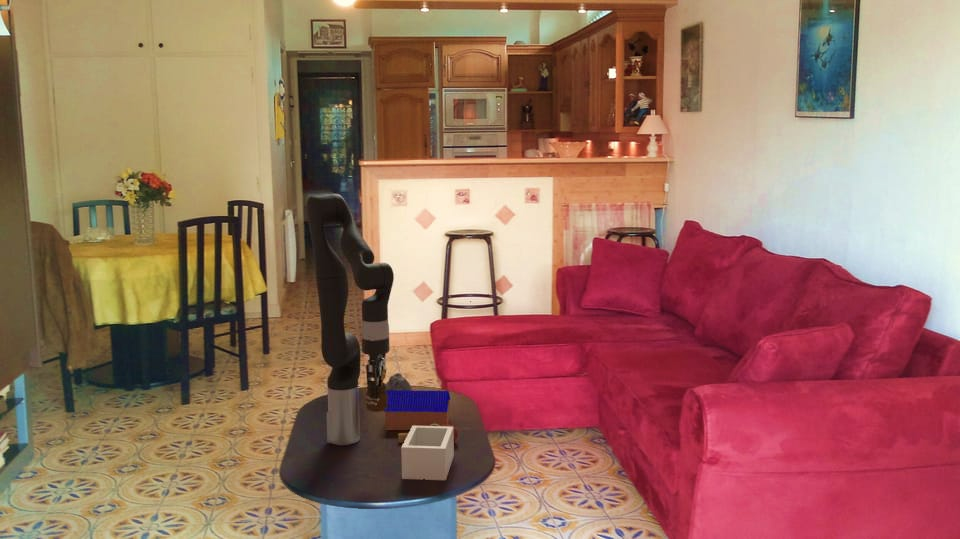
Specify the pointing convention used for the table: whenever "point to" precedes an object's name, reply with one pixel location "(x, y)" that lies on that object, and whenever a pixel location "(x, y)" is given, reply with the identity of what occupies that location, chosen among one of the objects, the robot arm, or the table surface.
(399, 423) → the house
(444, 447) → the open rectangular box
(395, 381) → the mineral rock
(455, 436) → the kendama
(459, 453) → the table surface
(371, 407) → the utensil holder
